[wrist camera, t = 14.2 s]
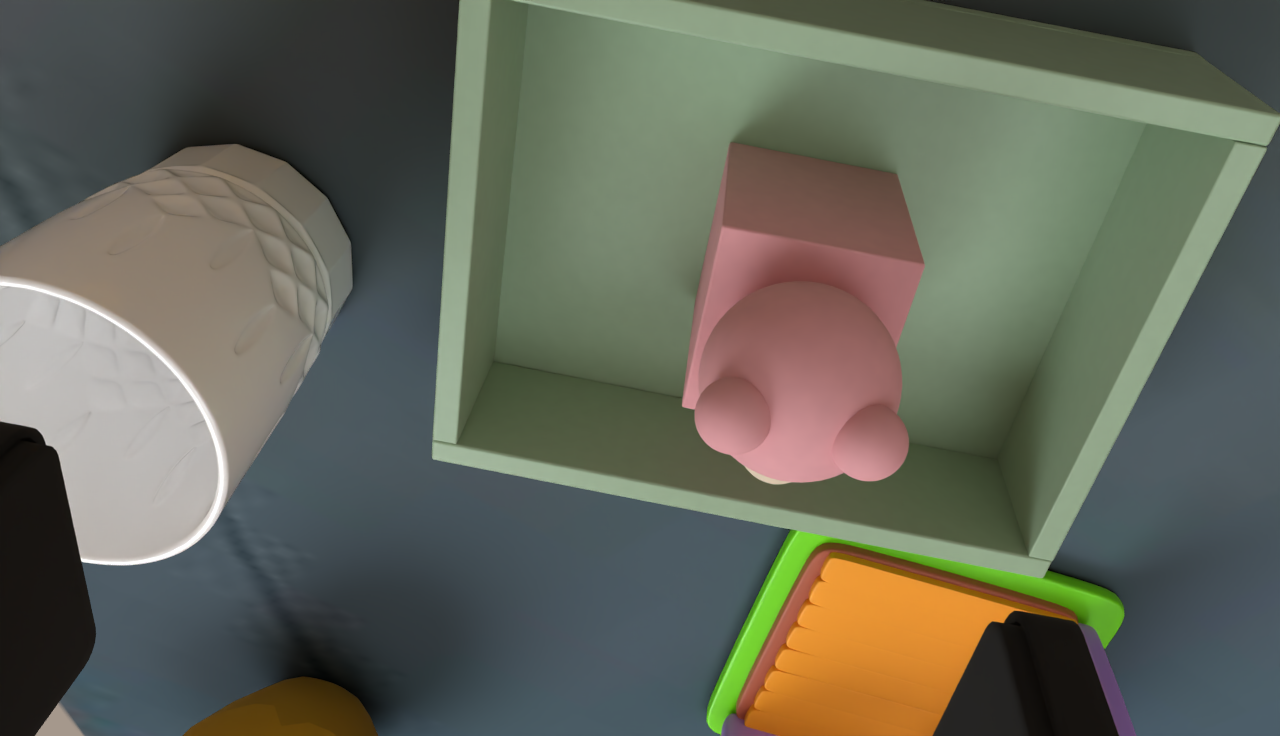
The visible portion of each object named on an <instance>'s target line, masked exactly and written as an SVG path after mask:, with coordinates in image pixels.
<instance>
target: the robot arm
mask: <svg viewBox="0 0 1280 736" xmlns="http://www.w3.org/2000/svg"><path fill="white" fill-rule="evenodd" d="M95 637H96V628H95V623H94V618H93V614H92V609H91V604H90V600H89V595H88V590H87V586H86V581H85V576H84V572H83V567H82V562H81V558H80V553H79V548H78V544H77V539H76V534H75V530H74V525H73V520H72V516H71V511H70V506H69V502H68V497H67V492H66V488H65V483H64V478H63V474H62V469H61V464H60V460H59V456H58V453H57V451H56V450H55V449H54V448H53V447H52V446H48V445H46V443H45V440H44V438H43V435H42V434H41V433H40V432H39V431H38V430H37V429H35V428H32V427H27V426H22V425H17V424H11V423H6V422H0V736H35V735H36V733H37V732H38V730H39V729H40V728H41V726H42V725H43V723H44V722H45V720H46V719H47V718H48V717H49V715H50V714H51V712H52V711H53V710H54V708H55V707H56V705H57V704H58V703H59V701H60V700H61V698H62V697H63V696H64V694H65V693H66V692H67V690H68V689H69V687H70V686H71V685H72V683H73V682H74V680H75V679H76V678H77V676H78V675H79V674H80V672H81V671H82V669H83V668H84V666H85V665H86V663H87V661H88V660H89V658H90V655H91V653H92V650H93V647H94V643H95ZM933 736H1119V734H1118V731H1117V728H1116V726H1115V723H1114V720H1113V717H1112V714H1111V711H1110V708H1109V706H1108V703H1107V700H1106V697H1105V694H1104V691H1103V688H1102V686H1101V683H1100V680H1099V677H1098V674H1097V671H1096V669H1095V666H1094V663H1093V660H1092V657H1091V654H1090V651H1089V649H1088V646H1087V643H1086V640H1085V637H1084V634H1083V632H1082V630H1081V628H1080V627H1079V625H1078V624H1076V623H1075V622H1074V621H1071V620H1066V619H1060V618H1055V617H1050V616H1044V615H1039V614H1034V613H1028V612H1023V611H1013V612H1012V613H1010V614H1009V615H1008V617H1007V618H1006V620H1005V621H1004V623H1001V622H994V621H992V622H991V623H989V624H988V626H987V627H986V629H985V630H984V633H983V635H982V637H981V639H980V641H979V643H978V645H977V647H976V649H975V651H974V653H973V655H972V657H971V659H970V661H969V663H968V665H967V667H966V669H965V671H964V673H963V675H962V677H961V679H960V681H959V683H958V685H957V687H956V689H955V691H954V693H953V695H952V697H951V699H950V701H949V703H948V705H947V707H946V709H945V711H944V713H943V715H942V717H941V719H940V721H939V723H938V725H937V728H936V730H935V732H934V734H933Z"/></svg>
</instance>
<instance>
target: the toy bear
mask: <svg viewBox="0 0 1280 736" xmlns="http://www.w3.org/2000/svg"><path fill="white" fill-rule="evenodd" d="M924 268H925V263H924V260H923V257H922V253H921V250H920V247H919V244H918V240H917V237H916V234H915V230H914V227H913V224H912V220H911V217H910V214H909V211H908V207H907V204H906V201H905V197H904V194H903V191H902V188H901V184H900V181H899V178H898V175H897V174H894V173H888V172H883V171H878V170H873V169H868V168H863V167H857V166H852V165H847V164H842V163H837V162H832V161H827V160H821V159H816V158H811V157H806V156H801V155H796V154H790V153H785V152H780V151H775V150H770V149H765V148H759V147H754V146H749V145H744V144H739V143H734V142H731V143H730V144H729V148H728V152H727V157H726V161H725V166H724V171H723V175H722V180H721V184H720V189H719V194H718V198H717V203H716V207H715V212H714V217H713V221H712V226H711V230H710V235H709V240H708V244H707V249H706V253H705V258H704V263H703V267H702V272H701V276H700V281H699V286H698V290H697V295H696V299H695V306H694V314H693V321H692V329H691V337H690V344H689V352H688V360H687V368H686V375H685V383H684V391H683V398H682V407H685V408H690V409H695V424H696V428H697V431H698V433H699V435H700V436H701V438H702V439H703V440H704V442H705V443H706V444H707V445H708V446H710V447H711V448H712V449H714V450H716V451H718V452H721V453H724V454H728V455H731V456H732V457H733V458H735V459H736V460H737V461H738V462H739V463H741V464H742V465H744V466H745V467H746V469H747V470H748V471H749V472H750V473H751V474H752V475H753V476H754V477H756V478H757V479H759V480H761V481H763V482H766V483H770V484H787V483H790V482H800V483H803V482H815V481H821V480H825V479H829V478H832V477H835V476H838V475H840V474H843V473H845V474H847V475H848V476H850V477H852V478H855V479H857V480H861V481H878V480H882V479H884V478H887V477H889V476H890V475H892V474H893V473H895V472H896V471H897V470H898V469H899V468H900V467H901V465H902V464H903V462H904V461H905V458H906V456H907V453H908V448H909V437H908V432H907V429H906V427H905V425H904V423H903V421H902V420H901V419H900V417H899V416H898V415H897V412H898V409H899V405H900V400H901V393H902V371H901V364H900V359H899V355H898V352H897V349H896V347H897V344H898V342H899V339H900V336H901V333H902V330H903V327H904V324H905V322H906V319H907V316H908V313H909V310H910V307H911V305H912V302H913V299H914V296H915V293H916V290H917V287H918V285H919V282H920V279H921V276H922V273H923V270H924Z"/></svg>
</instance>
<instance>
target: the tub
mask: <svg viewBox="0 0 1280 736" xmlns="http://www.w3.org/2000/svg"><path fill="white" fill-rule="evenodd" d="M1279 124H1280V114H1279V113H1278V112H1276V111H1275V110H1274V109H1272V108H1271V107H1270V106H1268V105H1267V104H1265V103H1264V102H1263V101H1261V100H1260V99H1258V98H1257V97H1256V96H1254V95H1253V94H1251V93H1250V92H1249V91H1247V90H1246V89H1245V88H1243V87H1242V86H1240V85H1239V84H1238V83H1236V82H1235V81H1233V80H1232V79H1231V78H1229V77H1228V76H1226V75H1225V74H1224V73H1222V72H1221V71H1220V70H1218V69H1217V68H1215V67H1214V66H1213V65H1211V64H1210V63H1208V62H1207V61H1206V60H1204V58H1202V57H1201V56H1200V55H1198V54H1197V53H1195V52H1191V51H1185V50H1180V49H1175V48H1170V47H1165V46H1159V45H1154V44H1149V43H1144V42H1139V41H1134V40H1128V39H1123V38H1118V37H1113V36H1108V35H1102V34H1097V33H1092V32H1087V31H1082V30H1076V29H1071V28H1066V27H1061V26H1056V25H1050V24H1045V23H1040V22H1035V21H1030V20H1025V19H1019V18H1014V17H1009V16H1004V15H999V14H993V13H988V12H983V11H978V10H973V9H967V8H962V7H957V6H952V5H947V4H941V3H936V2H931V1H926V0H459V16H458V32H457V49H456V65H455V81H454V98H453V114H452V130H451V147H450V163H449V179H448V196H447V212H446V228H445V245H444V261H443V277H442V294H441V310H440V326H439V343H438V359H437V375H436V392H435V408H434V424H433V444H432V459H434V460H439V461H444V462H449V463H454V464H460V465H465V466H470V467H475V468H480V469H485V470H490V471H495V472H500V473H506V474H511V475H516V476H521V477H526V478H531V479H536V480H541V481H546V482H551V483H557V484H562V485H567V486H572V487H577V488H582V489H587V490H592V491H597V492H603V493H608V494H613V495H618V496H623V497H628V498H633V499H638V500H643V501H649V502H654V503H659V504H664V505H669V506H674V507H679V508H684V509H689V510H695V511H700V512H705V513H710V514H715V515H720V516H725V517H730V518H735V519H741V520H746V521H751V522H756V523H761V524H766V525H771V526H776V527H781V528H786V529H792V530H797V531H802V532H807V533H812V534H817V535H822V536H827V537H832V538H838V539H843V540H848V541H853V542H858V543H863V544H868V545H873V546H878V547H884V548H889V549H894V550H899V551H904V552H909V553H914V554H919V555H924V556H930V557H935V558H940V559H945V560H950V561H955V562H960V563H965V564H970V565H975V566H981V567H986V568H991V569H996V570H1001V571H1006V572H1011V573H1016V574H1021V575H1027V576H1032V577H1037V578H1043V577H1044V576H1045V574H1046V572H1047V570H1048V568H1049V566H1050V564H1051V561H1053V560H1054V558H1055V556H1056V554H1057V552H1058V550H1059V548H1060V546H1061V544H1062V542H1063V541H1064V539H1065V537H1066V535H1067V533H1068V531H1069V529H1070V527H1071V525H1072V523H1073V521H1074V519H1075V517H1076V516H1077V514H1078V512H1079V510H1080V508H1081V506H1082V504H1083V502H1084V500H1085V498H1086V496H1087V494H1088V492H1089V491H1090V489H1091V487H1092V485H1093V483H1094V481H1095V479H1096V477H1097V475H1098V473H1099V471H1100V469H1101V467H1102V466H1103V464H1104V462H1105V460H1106V458H1107V456H1108V454H1109V452H1110V450H1111V448H1112V446H1113V444H1114V442H1115V441H1116V439H1117V437H1118V435H1119V433H1120V431H1121V429H1122V427H1123V425H1124V423H1125V421H1126V419H1127V418H1128V416H1129V414H1130V412H1131V410H1132V408H1133V406H1134V404H1135V402H1136V400H1137V398H1138V396H1139V394H1140V393H1141V391H1142V389H1143V387H1144V385H1145V383H1146V381H1147V379H1148V377H1149V375H1150V373H1151V371H1152V369H1153V368H1154V366H1155V364H1156V362H1157V360H1158V358H1159V356H1160V354H1161V352H1162V350H1163V348H1164V346H1165V344H1166V343H1167V341H1168V339H1169V337H1170V335H1171V333H1172V331H1173V329H1174V327H1175V325H1176V323H1177V321H1178V320H1179V318H1180V316H1181V314H1182V312H1183V310H1184V308H1185V306H1186V304H1187V302H1188V300H1189V298H1190V296H1191V295H1192V293H1193V291H1194V289H1195V287H1196V285H1197V283H1198V281H1199V279H1200V277H1201V275H1202V273H1203V271H1204V270H1205V268H1206V266H1207V264H1208V262H1209V260H1210V258H1211V256H1212V254H1213V252H1214V250H1215V248H1216V246H1217V245H1218V243H1219V241H1220V239H1221V237H1222V235H1223V233H1224V231H1225V229H1226V227H1227V225H1228V223H1229V221H1230V220H1231V218H1232V216H1233V214H1234V212H1235V210H1236V208H1237V206H1238V204H1239V202H1240V200H1241V198H1242V197H1243V195H1244V193H1245V191H1246V189H1247V187H1248V185H1249V183H1250V181H1251V179H1252V177H1253V175H1254V173H1255V172H1256V170H1257V168H1258V166H1259V164H1260V162H1261V160H1262V158H1263V156H1264V154H1265V152H1266V150H1267V147H1265V146H1266V145H1268V144H1269V143H1270V141H1271V139H1272V137H1273V135H1274V133H1275V131H1276V130H1277V128H1278V126H1279ZM731 142H734V143H739V144H744V145H749V146H754V147H759V148H765V149H770V150H775V151H780V152H785V153H790V154H796V155H801V156H806V157H811V158H816V159H821V160H827V161H832V162H837V163H842V164H847V165H852V166H857V167H863V168H868V169H873V170H878V171H883V172H888V173H894V174H897V175H898V178H899V181H900V184H901V188H902V191H903V194H904V197H905V201H906V204H907V207H908V211H909V214H910V217H911V220H912V224H913V227H914V230H915V234H916V237H917V240H918V244H919V247H920V250H921V253H922V257H923V260H924V263H925V268H924V270H923V273H922V276H921V279H920V282H919V285H918V287H917V290H916V293H915V296H914V299H913V302H912V305H911V307H910V310H909V313H908V316H907V319H906V322H905V324H904V327H903V330H902V333H901V336H900V339H899V342H898V344H897V347H896V349H897V352H898V355H899V359H900V364H901V371H902V393H901V400H900V405H899V409H898V412H897V415H898V416H899V417H900V419H901V420H902V421H903V423H904V425H905V427H906V429H907V432H908V437H909V448H908V453H907V456H906V458H905V461H904V462H903V464H902V465H901V467H900V468H899V469H898V470H897V471H896V472H895V473H893V474H892V475H890V476H889V477H887V478H884V479H882V480H878V481H861V480H857V479H855V478H852V477H850V476H848V475H847V474H845V473H843V474H840V475H838V476H835V477H832V478H829V479H825V480H821V481H815V482H803V483H800V482H790V483H787V484H770V483H766V482H763V481H761V480H759V479H757V478H756V477H754V476H753V475H752V474H751V473H750V472H749V471H748V470H747V469H746V467H745V466H744V465H742V464H741V463H739V462H738V461H737V460H736V459H735V458H733V457H732V456H731V455H728V454H724V453H721V452H718V451H716V450H714V449H712V448H711V447H710V446H708V445H707V444H706V443H705V442H704V440H703V439H702V438H701V436H700V435H699V433H698V431H697V428H696V424H695V409H690V408H685V407H682V398H683V391H684V383H685V375H686V368H687V360H688V352H689V344H690V337H691V329H692V321H693V314H694V306H695V299H696V295H697V290H698V286H699V281H700V276H701V272H702V267H703V263H704V258H705V253H706V249H707V244H708V240H709V235H710V230H711V226H712V221H713V217H714V212H715V207H716V203H717V198H718V194H719V189H720V184H721V180H722V175H723V171H724V166H725V161H726V157H727V152H728V148H729V144H730V143H731Z"/></svg>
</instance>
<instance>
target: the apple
mask: <svg viewBox="0 0 1280 736" xmlns="http://www.w3.org/2000/svg"><path fill="white" fill-rule="evenodd" d="M183 736H378V734H377V732H376V729H375V727H374V725H373V722H372V720H371V717H370V715H369V714H368V712H367V711H366V709H365V708H364V706H363V705H362V703H361V702H360V700H359V699H358V698H357V697H356V696H354V695H353V694H351V693H350V692H348V691H347V690H345V689H344V688H342V687H340V686H338V685H336V684H334V683H331V682H328V681H325V680H321V679H317V678H311V677H304V676H302V677H297V678H292V679H287V680H283V681H280V682H278V683H275V684H273V685H271V686H268V687H266V688H263V689H261V690H259V691H257V692H254V693H252V694H250V695H248V696H245V697H243V698H241V699H239V700H236V701H234V702H232V703H231V704H229V705H227V706H225V707H224V708H222V709H220V710H219V711H217V712H216V713H214V714H212V715H211V716H209V717H207V718H206V719H204V720H202V721H201V722H199V723H197V724H196V725H194V726H192V727H191V728H190V729H189V730H188V731H187V732H186V733H185V734H184V735H183Z"/></svg>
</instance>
